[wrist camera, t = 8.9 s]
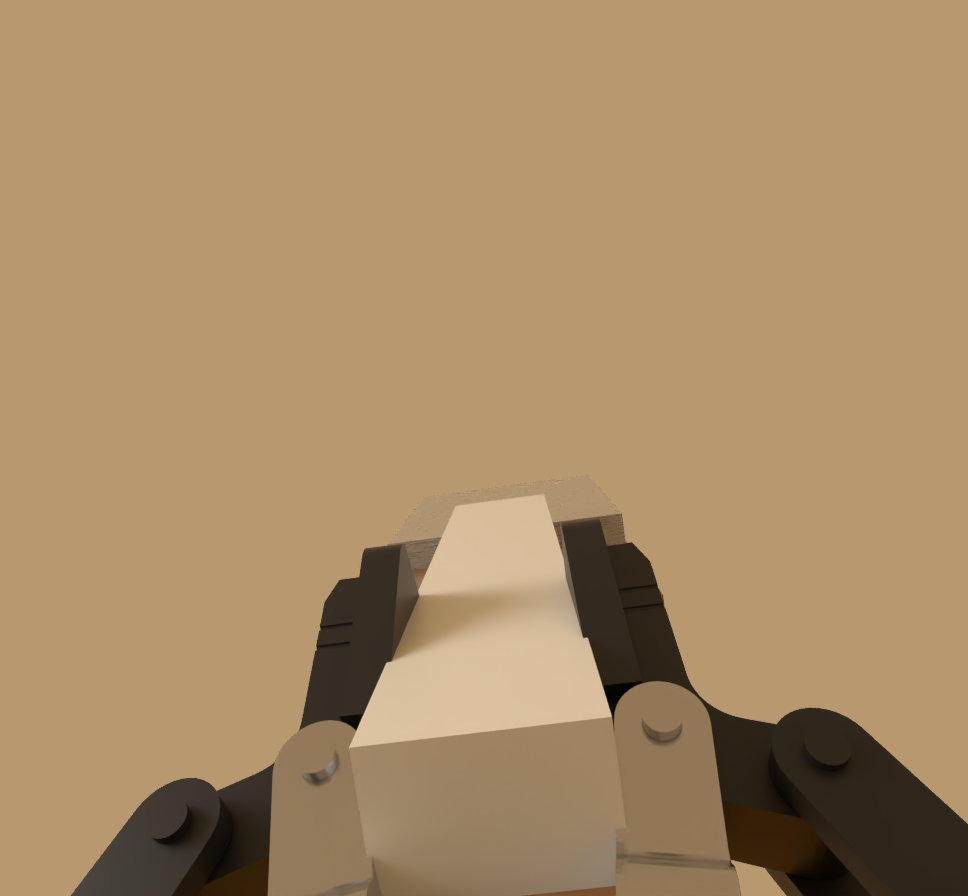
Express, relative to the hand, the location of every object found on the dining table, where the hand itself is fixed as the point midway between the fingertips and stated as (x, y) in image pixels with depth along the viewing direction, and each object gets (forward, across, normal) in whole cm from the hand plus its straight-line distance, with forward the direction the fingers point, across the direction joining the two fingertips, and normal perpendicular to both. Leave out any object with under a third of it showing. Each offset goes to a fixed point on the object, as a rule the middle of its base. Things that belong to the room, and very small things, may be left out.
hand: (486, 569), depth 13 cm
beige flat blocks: (+5, 0, +6) cm, 8 cm away
